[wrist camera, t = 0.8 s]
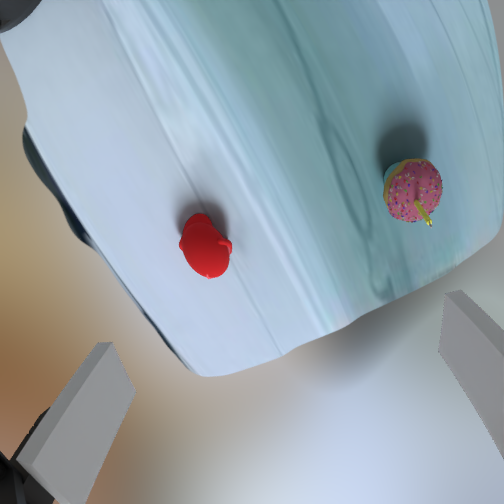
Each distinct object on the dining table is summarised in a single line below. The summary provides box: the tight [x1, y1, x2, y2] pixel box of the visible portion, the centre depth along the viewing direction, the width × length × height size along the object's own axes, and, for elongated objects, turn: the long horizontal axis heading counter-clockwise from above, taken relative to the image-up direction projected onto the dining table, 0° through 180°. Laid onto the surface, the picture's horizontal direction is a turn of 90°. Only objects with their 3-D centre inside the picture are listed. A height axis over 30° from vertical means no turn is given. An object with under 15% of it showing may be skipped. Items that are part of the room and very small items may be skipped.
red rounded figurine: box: [179, 213, 232, 279], centre depth 41 cm, size 8×6×6 cm
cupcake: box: [383, 159, 443, 228], centre depth 35 cm, size 9×8×12 cm
